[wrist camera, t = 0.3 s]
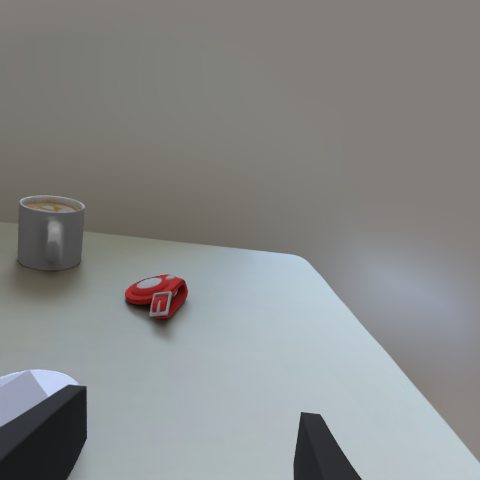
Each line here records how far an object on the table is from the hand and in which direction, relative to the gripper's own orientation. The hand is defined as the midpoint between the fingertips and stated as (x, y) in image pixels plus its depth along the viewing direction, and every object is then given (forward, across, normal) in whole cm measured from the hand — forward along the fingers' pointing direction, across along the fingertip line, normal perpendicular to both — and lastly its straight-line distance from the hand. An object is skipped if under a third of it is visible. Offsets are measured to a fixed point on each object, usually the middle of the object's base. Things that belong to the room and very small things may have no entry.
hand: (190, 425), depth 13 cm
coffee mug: (+53, +33, +15) cm, 64 cm away
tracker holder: (+46, +13, +17) cm, 51 cm away
